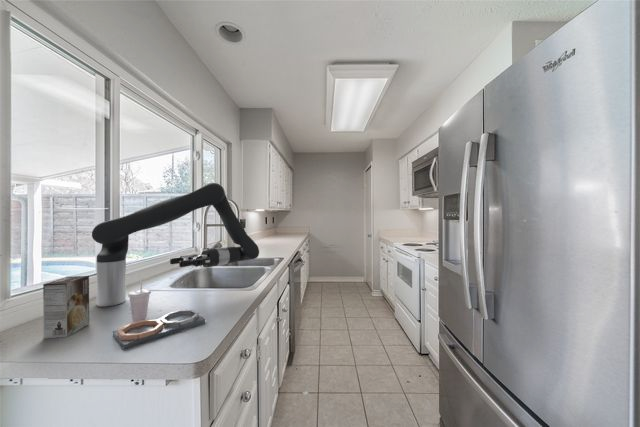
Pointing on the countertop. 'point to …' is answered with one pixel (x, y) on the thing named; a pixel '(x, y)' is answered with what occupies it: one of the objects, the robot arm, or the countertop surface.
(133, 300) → the smoothie
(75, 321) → the coffee box
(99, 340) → the countertop surface
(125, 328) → the terracotta collar
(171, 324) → the grey collar
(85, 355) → the countertop surface
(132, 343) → the dual ring board
